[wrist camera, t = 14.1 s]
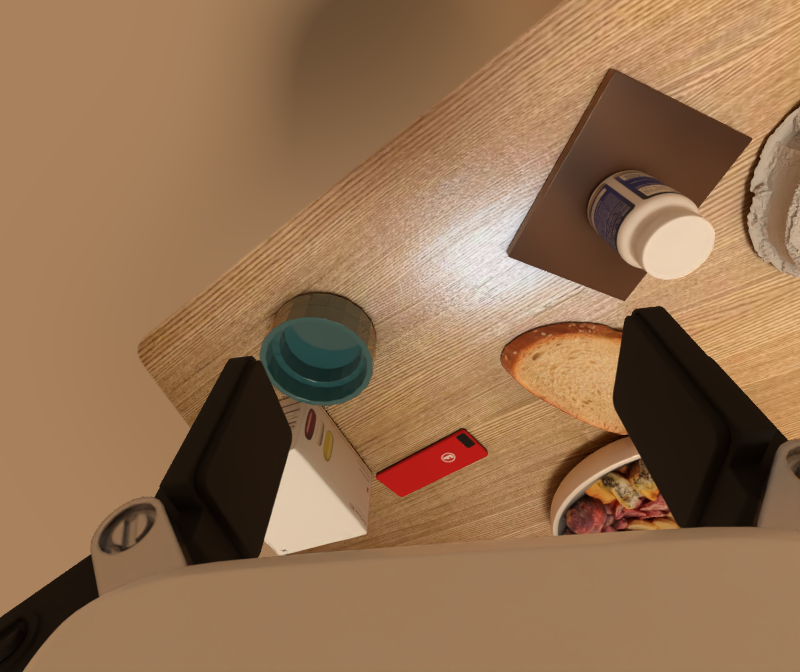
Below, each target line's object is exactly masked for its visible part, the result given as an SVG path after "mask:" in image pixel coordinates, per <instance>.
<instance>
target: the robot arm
mask: <svg viewBox="0 0 800 672" xmlns="http://www.w3.org/2000/svg"><path fill="white" fill-rule="evenodd" d="M612 398H613V405H614V408H615V411H616V413H617V414H618V416H619V418H620V420H621V422H622V424H623V426H624V427H625V429H626V431H627V433H628V435H629V437H630V438H631V440H632V442H633V444H634V446H635V448H636V449H637V451H638V453H639V455H640V457H641V459H642V461H643V462H644V464H645V466H646V468H647V470H648V472H649V473H650V475H651V477H652V479H653V481H654V483H655V485H656V486H657V488H658V490H659V492H660V494H661V496H662V497H663V499H664V501H665V503H666V505H667V507H668V508H669V510H670V512H671V514H672V516H673V518H674V520H675V521H676V523H677V524H678V526H679V527H680V528H679V529H659V530H639V531H621V532H606V533H591V534H576V535H561V536H546V537H530V538H515V539H501V540H487V541H473V542H458V543H444V544H430V545H416V546H402V547H389V548H375V549H362V550H349V551H336V552H323V553H310V554H297V555H284V556H273V557H262V558H258V556H259V555H260V552H261V549H262V545H263V542H264V539H265V535H266V532H267V528H268V524H269V521H270V517H271V514H272V510H273V507H274V503H275V500H276V496H277V493H278V489H279V486H280V482H281V479H282V475H283V472H284V468H285V465H286V461H287V458H288V454H289V451H290V447H291V443H292V430H291V428H290V425H289V423H288V421H287V418H286V416H285V414H284V411H283V409H282V407H281V405H280V402H279V400H278V398H277V395H276V393H275V391H274V388H273V386H272V384H271V382H270V379H269V377H268V375H267V372H266V370H265V368H264V366H263V364H262V362H261V361H259V360H258V361H256V360H255V358H254V357H252V356H246V357H238V358H231V359H229V360H228V362H227V363H226V365H225V367H224V369H223V371H222V372H221V374H220V376H219V378H218V380H217V382H216V383H215V385H214V387H213V389H212V391H211V393H210V394H209V396H208V398H207V400H206V402H205V403H204V405H203V407H202V409H201V411H200V413H199V414H198V416H197V418H196V420H195V422H194V424H193V425H192V427H191V429H190V431H189V433H188V435H187V436H186V438H185V440H184V442H183V444H182V446H181V447H180V449H179V451H178V453H177V455H176V456H175V458H174V460H173V462H172V464H171V466H170V467H169V469H168V471H167V473H166V475H165V477H164V479H163V480H162V482H161V484H160V488H159V490H158V492H157V494H156V496H155V497H141V498H137V499H133V500H131V501H129V502H127V503H125V504H123V505H121V506H120V507H119V508H117V509H116V510H114V511H113V512H112V513H111V514H110V515H108V516H107V517H106V518H105V520H104V521H102V523H101V524H100V526H99V527H98V528H97V530H96V531H95V533H94V536H93V538H92V541H91V555H89V556H88V557H86V558H85V559H83V560H82V561H81V562H79V563H78V564H77V565H75V566H73V567H72V568H70V569H69V570H68V571H66V572H65V573H64V574H62V575H60V576H59V577H58V578H56V579H55V580H54V581H52V582H51V583H49V584H48V585H46V586H45V587H43V588H42V589H40V590H39V591H38V592H36V593H35V594H33V595H32V596H30V597H29V598H28V599H26V600H25V601H23V602H22V603H20V604H19V605H17V606H16V607H15V608H13V609H12V610H10V611H9V612H7V613H6V614H4V615H3V616H2V617H1V618H0V672H800V439H794V440H789V441H788V440H787V438H786V437H785V436H784V435H783V434H782V433H781V432H780V431H779V430H778V429H777V428H776V427H775V426H774V424H773V423H772V422H771V421H770V420H769V419H768V418H767V417H766V416H765V415H764V414H763V413H762V411H761V410H760V409H759V408H758V407H757V406H756V405H755V404H754V403H753V402H752V401H751V400H750V398H749V397H748V396H747V395H746V394H745V393H744V392H743V391H742V390H741V389H740V388H739V387H738V385H737V384H736V383H735V382H734V381H733V380H732V379H731V378H730V377H729V376H728V375H727V374H726V372H725V371H724V370H723V369H722V368H721V367H720V366H719V365H718V364H717V363H716V362H715V361H714V360H713V359H712V358H711V357H709V356H707V354H706V353H705V352H704V351H703V350H702V349H701V348H700V347H699V346H698V345H697V344H696V342H695V341H694V340H693V339H692V338H691V337H690V336H689V335H688V334H687V333H686V332H685V330H684V329H683V328H682V327H681V326H680V325H679V324H678V323H677V322H676V321H675V320H674V318H673V317H672V316H671V315H670V314H669V313H668V312H667V311H666V310H665V309H664V308H663V307H661V306H656V307H648V308H639V309H635V310H634V311H633V312H632V315H631V316H627V317H626V318H625V321H624V327H623V333H622V339H621V346H620V352H619V358H618V364H617V371H616V377H615V383H614V390H613V397H612Z"/></svg>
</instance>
